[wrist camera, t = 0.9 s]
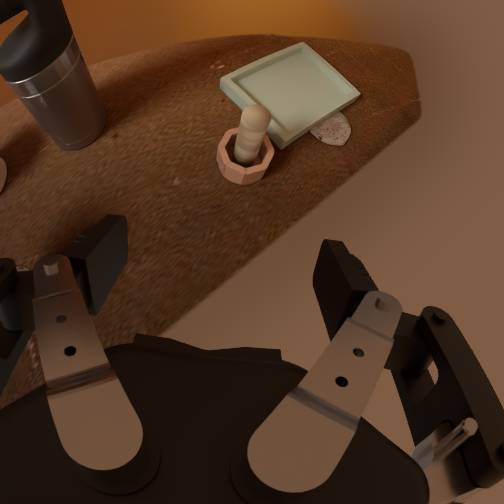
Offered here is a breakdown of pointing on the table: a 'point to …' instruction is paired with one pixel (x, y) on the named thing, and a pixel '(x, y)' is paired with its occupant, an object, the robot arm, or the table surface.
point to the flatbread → (333, 130)
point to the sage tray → (290, 90)
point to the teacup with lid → (2, 173)
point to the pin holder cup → (238, 172)
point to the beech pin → (250, 134)
